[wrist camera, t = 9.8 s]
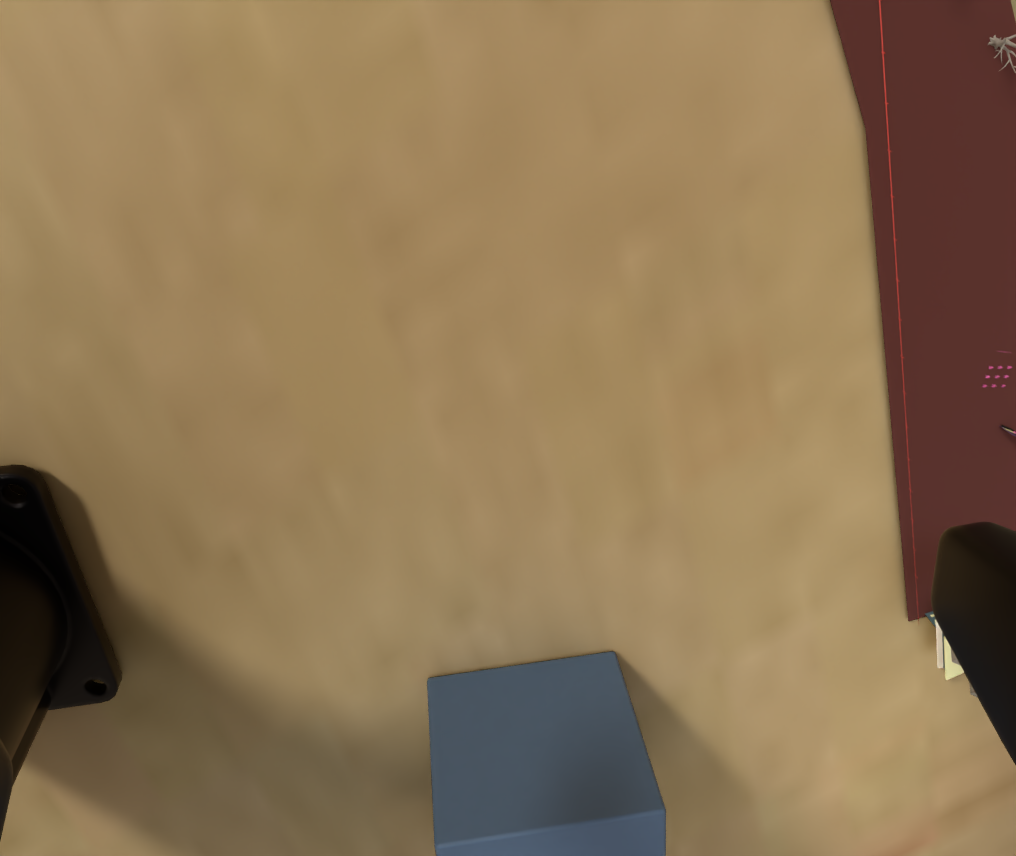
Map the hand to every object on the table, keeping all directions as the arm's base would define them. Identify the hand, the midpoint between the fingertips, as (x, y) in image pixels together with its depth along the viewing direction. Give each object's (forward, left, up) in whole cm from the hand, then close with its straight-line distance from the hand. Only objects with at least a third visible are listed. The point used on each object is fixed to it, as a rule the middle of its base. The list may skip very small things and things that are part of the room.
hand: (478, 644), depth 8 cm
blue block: (-13, -1, -11) cm, 17 cm away
